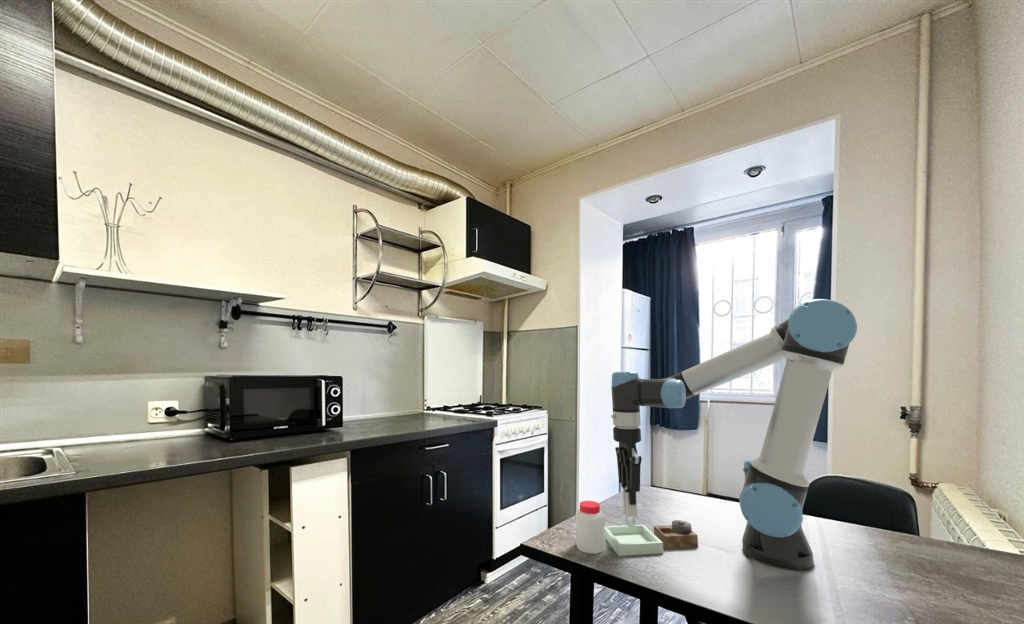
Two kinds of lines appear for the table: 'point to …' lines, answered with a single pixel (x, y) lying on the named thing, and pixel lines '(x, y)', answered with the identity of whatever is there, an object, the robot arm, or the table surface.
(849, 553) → the table surface
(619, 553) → the tray
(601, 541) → the pill bottle
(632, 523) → the clear translucent rod
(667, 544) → the brown and grey block
